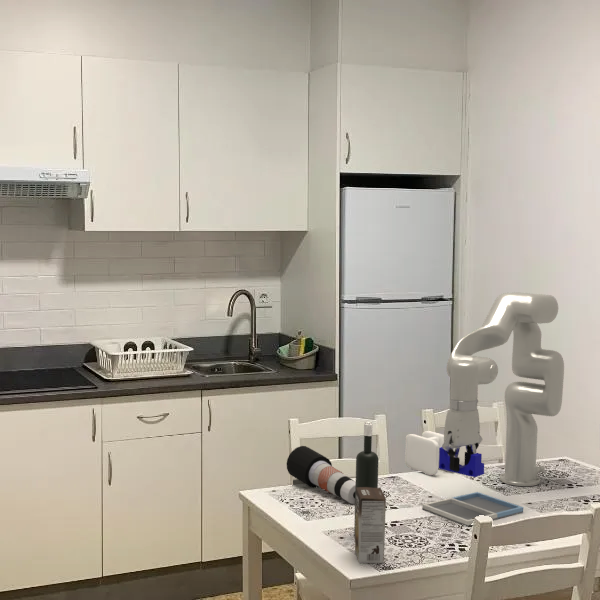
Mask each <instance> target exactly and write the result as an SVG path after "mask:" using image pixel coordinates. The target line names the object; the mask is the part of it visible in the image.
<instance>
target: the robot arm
mask: <svg viewBox="0 0 600 600" xmlns="http://www.w3.org/2000/svg"><path fill="white" fill-rule="evenodd" d="M558 312H559V303H558V300H557V299H556V298H555V297H554V296H553V295H551V294H542V293H541V294H540V293H530V292H529V293H528V292H504V293H501V294H499V295H497V297H496V299H495V300H494V302H493V304H492V305H491V307H490V309H489V311H488V314H487V315H486V317H485V319H484V321H483V323H482V325H481V326H480V327H478V328H476V329H474V330H472V331H471V332H469V333H468V334H466V335H465V336H464V337H462V338H461V339H459V340H458V342H456V344H455V346H454V348H453V349H452V352H451V353H450V355H449V358H448V359H447V360H448V361H447V363H446V372H447V375H448V377H449V378H450V383H449V385H450V387H449V390H450V393H449V409H447V412H446V414H445V415H446V416H445V422H444V430H443V431H444V432H443V435H444V443H443V445H442V448H443V449H444V450H445V451H446V452H447V453H448V456H450V470H453V471H456V472H459V464H460V462H461V461H460V460H461V459H460V457H459V453H460V451H461V450H460V449H461V448H462V447H465V450H466V451H464V462H463V463H464V464H463V465H467V464H468V463H469V461H470V458H471V455H472V454H475V453H477V449H478V448H479V446H480V444H481V443H482V442H483V437H482V436H481V434H480V433H481V432H480V431H481V429H480V428H481V427H480V426H481V425H480V424H481V423H480V416H479V415H480V414H479V409H478V403H479V400H478V398H479V397H478V394H479V393H478V390H479V389H478V388H479V385H489V384H491V383H493V381H495V380H496V378H497V377H498V373H499V367H498V364H497V362H496V361H495V360H493V359H492V358H490V357H489V358H488V357H484V356H476V355H474V354H477V353H479V352H482V351H485V350H490V349H493V348H497V347H500V346H502V345H504V344H506V343H507V342H508V340H509V339H510V337H511V334H512V333H513V338H512V339H513V340H512V354H511V356H512V357H511V370H512V373H513V374H514V375H515V376H516V377H518V378H519V377H520V378H526V379H531V380H540V381H544V384H542V383H536V382H527V381H514V382H511V383H509V384H508V385H507V386H506V387H505V390H504V403H505V409H506V410H505V411H506V412H505V413H506V434H505V435H506V436H505V455H504V456H505V457H504V458H505V459H504V472H503V473H501V474H500V475H499V481H500V482H501V483H504V484H506V485H510V486H516V487H533V486H538V485H539V484H541V478H540V477H539V476H538V474H539V473H544V472H545V470H546V469H545V466H544V465H540V466H537V450H538V449H537V447H538V425H537V422H536V420H535V418H534V416H533V415H537V416H544V417H555V416H557V415H558V414H559V413H560V411H561V409H562V403H563V389H564V377H565V362H564V361H565V360H564V358H563V356H562V354H561V353H560V352H559V351H557V350H553V349H544V348H543V349H542V331H541V328H540V326H539V324H540V325H541V324H549V323H552V322H554V320H555V319H556V318H557V315H558V314H559V313H558ZM454 448H455V452H454V451H453V449H454Z"/></svg>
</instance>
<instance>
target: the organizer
mask: <svg viewBox="0 0 600 600" xmlns="http://www.w3.org/2000/svg"><path fill="white" fill-rule="evenodd" d="M443 443H444V434H443V433H438V432H434V431H431V430H426V431H423V432H422V434H421V435H418V434H415V433H411V434H410V433H409V434H407V435H406V436H405V448H404V449H405V450H404V452H405V453H404V464H405V465H406V466H407V467H408V468H410V470H412V471H416V472H422V473H423V474H424V473H426V474H425V475H426V476H427V475H428V476H433V475H436V474H438V472H439V448H440V447H442V445H443ZM453 451H454V452H455V448H454V449H453ZM441 470H442V471H445V472H448V473H449V472H451V471H447V470H443V469H441Z"/></svg>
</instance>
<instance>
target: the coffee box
mask: <svg viewBox="0 0 600 600" xmlns="http://www.w3.org/2000/svg"><path fill="white" fill-rule="evenodd" d="M386 503H387V498H386V496H385V495H384V492H383V490H382V487H378V488H371V487H356V515H355V514H354V523H355V536H354V551H355V554H356V558H357V562H358V563H359V564H383V563H385V561H384V560H385V537H386V535H385V534H386V532H385V531H386V514H387V512H386V511H387V510H386V505H387V504H386Z"/></svg>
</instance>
